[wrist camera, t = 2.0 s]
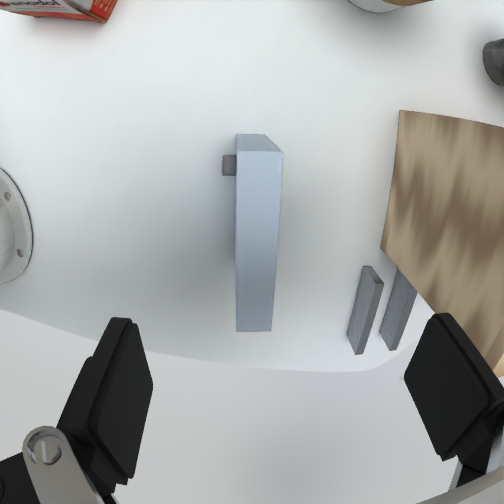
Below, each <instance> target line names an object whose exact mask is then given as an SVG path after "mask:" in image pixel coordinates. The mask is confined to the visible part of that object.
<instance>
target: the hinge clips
mask: <svg viewBox="0 0 504 504" xmlns="http://www.w3.org/2000/svg"><path fill="white" fill-rule="evenodd" d="M383 286H384V283H383V281H382V280H381V279H380V277H379V276H378V275H377V273H376V272H375V271H374V269H373V268H372V267H371V266H363V270H362V274H361V279H360V283H359V288H358V292H357V296H356V300H355V305H354V309H353V313H352V317H351V320H350V324H349V328H348V332H347V337H348V339H349V341H350V344H351V346H352V348H353V351H354V353H355V355H359V354H363V352H364V349H365V346H366V343H367V340H368V337H369V334H370V331H371V328H372V324H373V321H374V318H375V315H376V311H377V308H378V304H379V301H380V297H381V294H382V290H383ZM417 292H418V291H417V290H416V289H415V288H414V286H413V285H412V284H411V283H410V282H409V280H408V279H407V278H406V277H405V276H404V274H403V273H402V272H401V271H400V270H399V269H398V271H397V275H396V279H395V282H394V286H393V289H392V293H391V296H390V300H389V303H388V306H387V310H386V313H385V316H384V319H383V322H382V325H381V328H380V331H379V332H380V334H381V336H382V338H383V340H384V341H385V343H386V345H387V347H388V349H389V351H392V350H396V349H397V347H398V344H399V342H400V339H401V337H402V334H403V332H404V329H405V326H406V324H407V321H408V318H409V315H410V313H411V310H412V307H413V304H414V301H415V298H416V295H417Z"/></svg>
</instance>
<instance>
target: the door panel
mask: <svg viewBox="0 0 504 504" xmlns="http://www.w3.org/2000/svg"><path fill="white" fill-rule="evenodd" d="M282 162H283V152H282V151H281V150H280V149H279V148H278V147H277V146H276V145H275V144H274V143H273V142H272V141H271V140H270V139H269V138H268V137H267V136H265V135H259V134H237V138H236V155H223V161H222V174H223V176H236V214H235V281H236V332H257V331H271V326H272V313H273V301H274V288H275V274H276V260H277V246H278V231H279V215H280V198H281V181H282Z"/></svg>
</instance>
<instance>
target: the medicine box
mask: <svg viewBox="0 0 504 504" xmlns="http://www.w3.org/2000/svg"><path fill="white" fill-rule="evenodd" d="M116 2H117V0H0V9H2V10H5V11H9V12H12V13H17V14H22V15H28V16H33V17H41V16H50V17H61V18H72V19H84V20H93V21H98V22H100V23H106V20H108V19H109V17H110V15H111V12H112V10H113V8H114V6H115V4H116Z"/></svg>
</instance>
